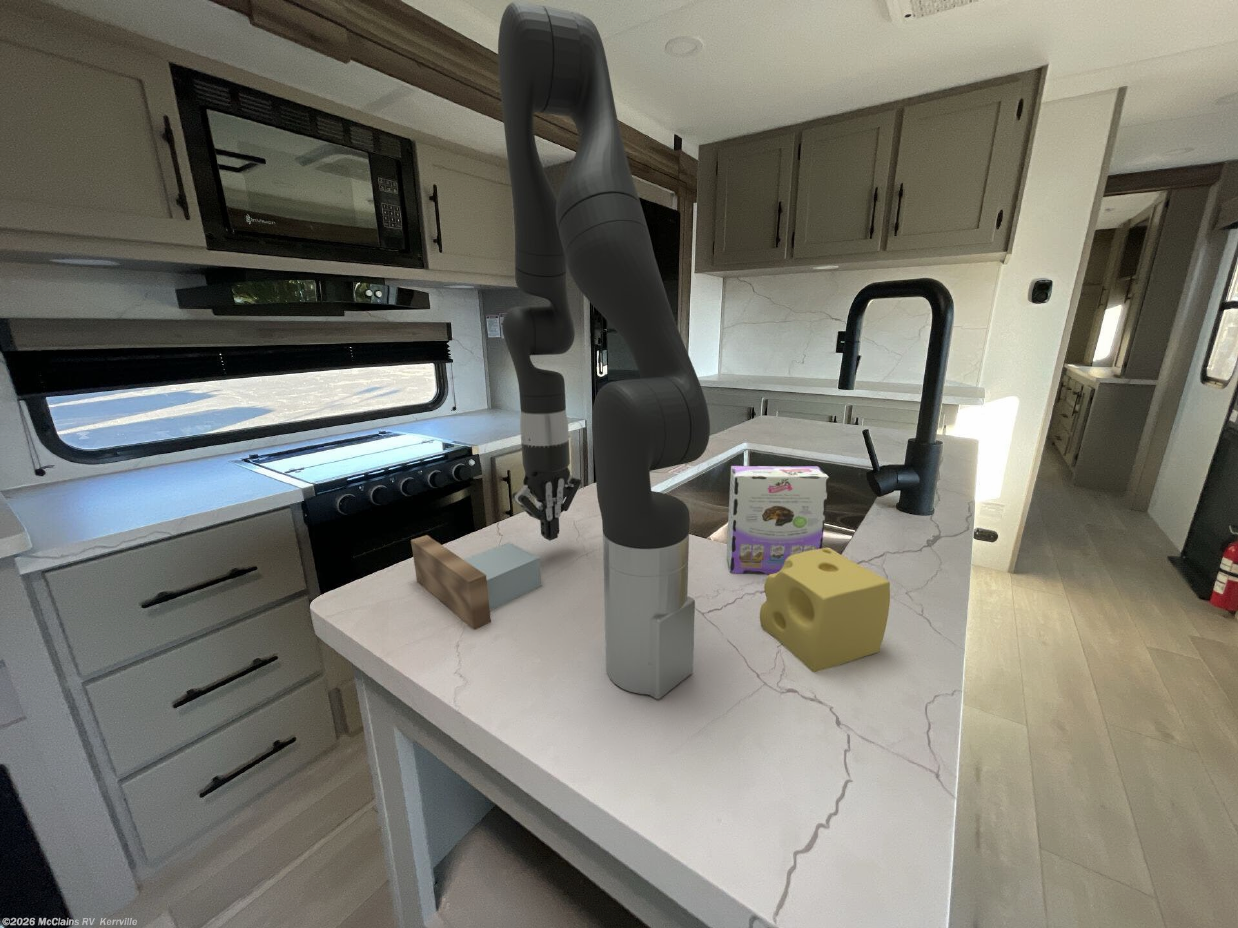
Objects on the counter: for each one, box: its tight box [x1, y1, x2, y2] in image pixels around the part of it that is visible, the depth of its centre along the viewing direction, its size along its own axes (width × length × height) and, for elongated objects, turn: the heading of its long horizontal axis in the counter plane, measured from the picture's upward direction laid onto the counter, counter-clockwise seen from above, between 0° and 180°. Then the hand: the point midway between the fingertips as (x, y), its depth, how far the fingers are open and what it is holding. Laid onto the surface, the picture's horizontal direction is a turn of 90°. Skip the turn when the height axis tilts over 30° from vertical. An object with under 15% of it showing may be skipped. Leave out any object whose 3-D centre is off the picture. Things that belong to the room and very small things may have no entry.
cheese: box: [759, 547, 891, 673], centre depth 61 cm, size 10×11×10 cm
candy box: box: [726, 465, 830, 575], centre depth 78 cm, size 14×6×16 cm, turn 84°
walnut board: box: [410, 534, 492, 630], centre depth 71 cm, size 18×2×7 cm, turn 44°
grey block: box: [463, 541, 542, 611], centre depth 74 cm, size 8×10×5 cm
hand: (550, 537), depth 84 cm, fingers closed
